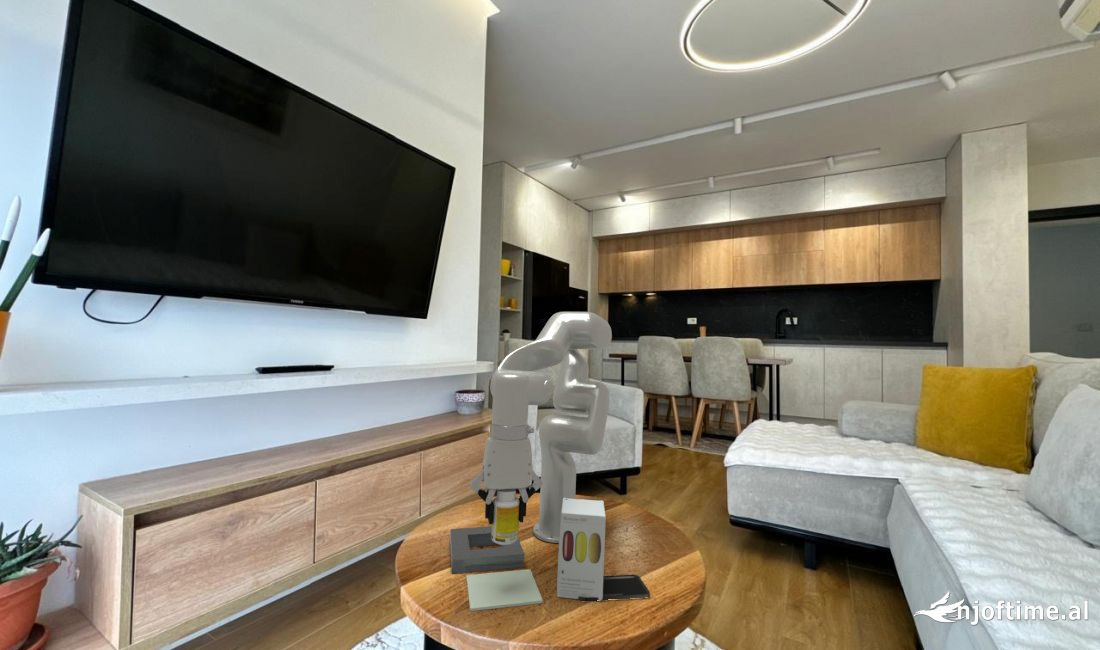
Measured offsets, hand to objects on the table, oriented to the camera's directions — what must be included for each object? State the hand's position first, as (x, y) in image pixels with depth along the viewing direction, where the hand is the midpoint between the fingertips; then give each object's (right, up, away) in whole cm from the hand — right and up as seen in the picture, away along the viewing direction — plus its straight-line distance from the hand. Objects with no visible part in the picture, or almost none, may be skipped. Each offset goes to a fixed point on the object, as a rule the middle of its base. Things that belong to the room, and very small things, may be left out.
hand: (505, 520), depth 89 cm
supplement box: (+16, -15, +1) cm, 22 cm away
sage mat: (0, -14, -1) cm, 14 cm away
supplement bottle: (0, -4, 0) cm, 4 cm away
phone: (+22, -16, +1) cm, 27 cm away
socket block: (-6, -15, +14) cm, 21 cm away
